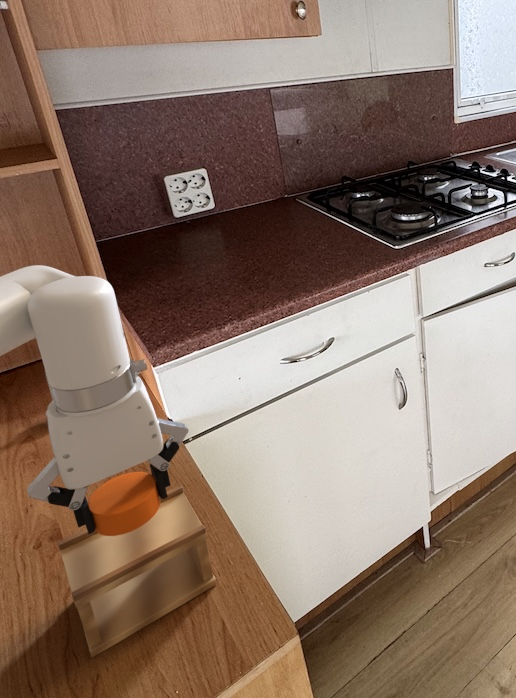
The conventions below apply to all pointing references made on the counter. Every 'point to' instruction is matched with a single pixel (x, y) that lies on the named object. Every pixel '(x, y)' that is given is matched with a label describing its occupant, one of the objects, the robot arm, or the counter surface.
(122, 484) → the puck
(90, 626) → the gold metallic block
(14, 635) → the counter surface
